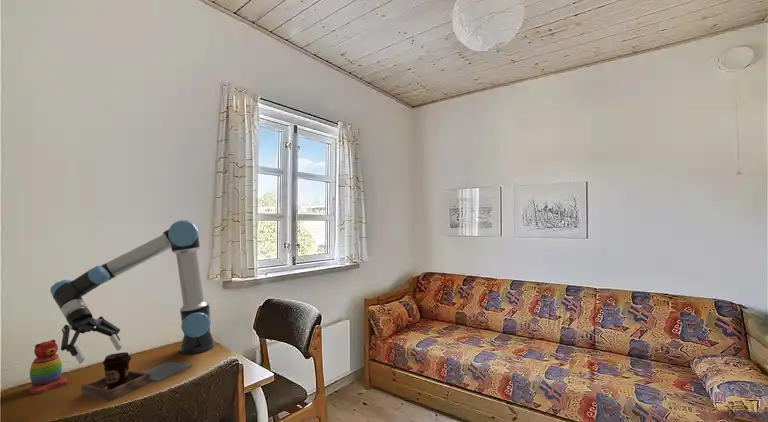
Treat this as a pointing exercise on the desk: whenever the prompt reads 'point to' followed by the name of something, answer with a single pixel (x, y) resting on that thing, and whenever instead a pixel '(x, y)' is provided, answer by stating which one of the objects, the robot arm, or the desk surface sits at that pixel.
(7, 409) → the desk surface
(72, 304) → the robot arm
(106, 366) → the coffee cup
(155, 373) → the mat
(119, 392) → the square frame
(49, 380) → the stacking bear
